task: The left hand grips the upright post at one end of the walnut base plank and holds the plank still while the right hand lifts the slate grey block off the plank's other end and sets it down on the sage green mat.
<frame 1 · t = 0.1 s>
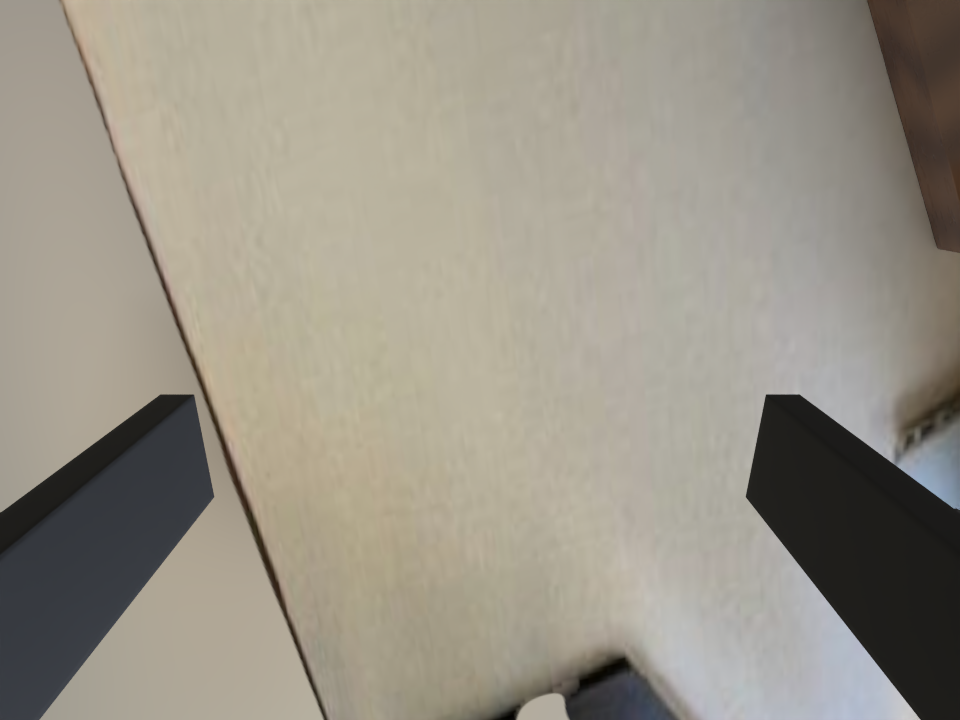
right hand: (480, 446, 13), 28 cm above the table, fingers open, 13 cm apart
base plank: (934, 44, 34), on the table, touching slate block
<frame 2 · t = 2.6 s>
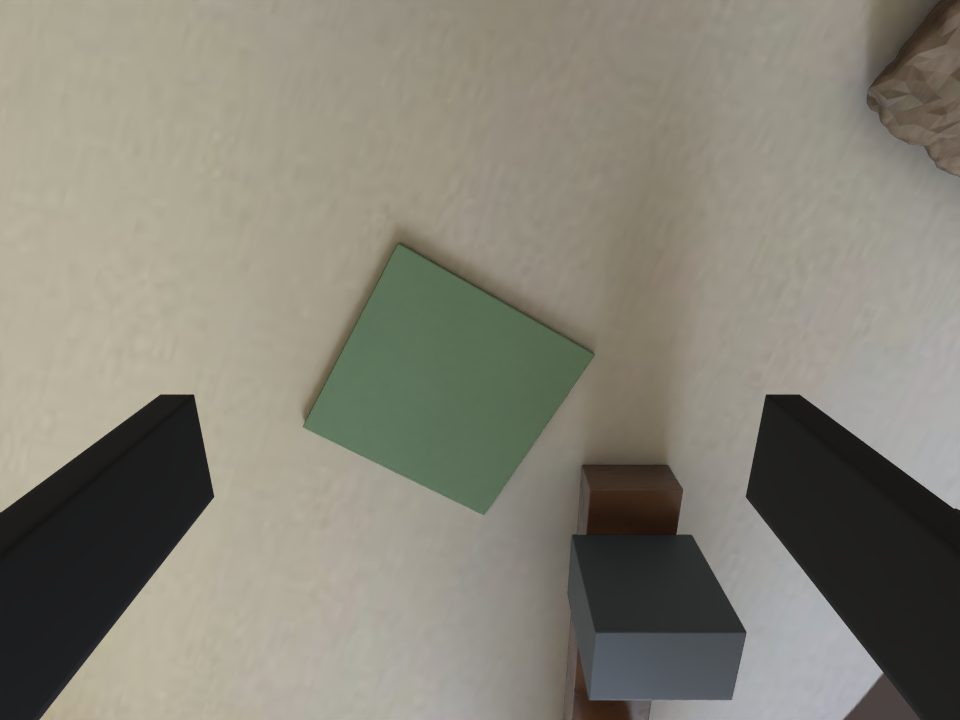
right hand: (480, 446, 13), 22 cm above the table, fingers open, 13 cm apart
green mat: (445, 389, 36), on the table
slate block: (628, 564, 37), point 3 cm above the table, touching base plank
base plank: (609, 611, 42), on the table, touching slate block
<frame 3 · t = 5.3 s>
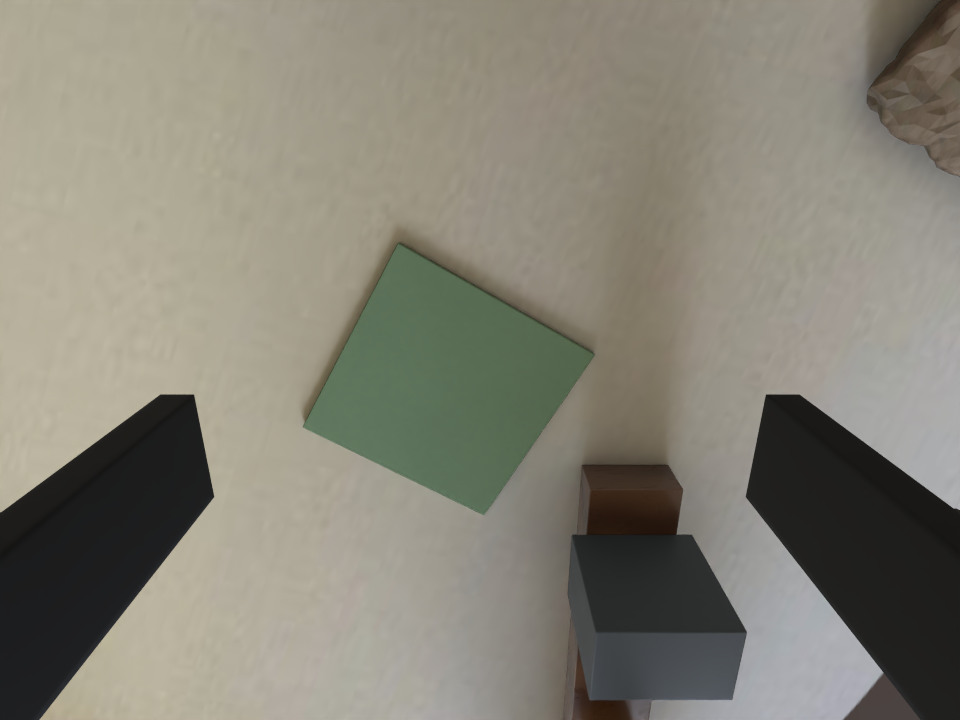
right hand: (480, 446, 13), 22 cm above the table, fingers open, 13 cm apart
green mat: (445, 389, 36), on the table
slate block: (628, 564, 37), point 3 cm above the table, touching base plank
base plank: (609, 611, 42), on the table, touching left hand, slate block
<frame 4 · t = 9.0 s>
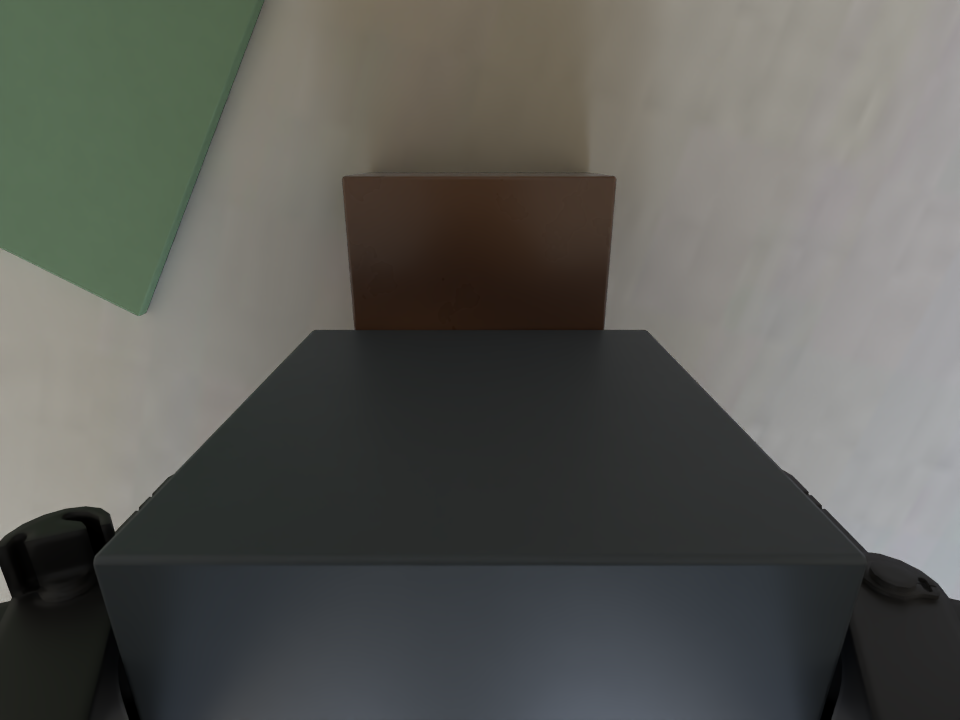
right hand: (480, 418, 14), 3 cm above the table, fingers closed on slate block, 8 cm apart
slate block: (479, 422, 14), point 3 cm above the table, touching base plank, right hand
base plank: (479, 564, 19), on the table, touching left hand, slate block
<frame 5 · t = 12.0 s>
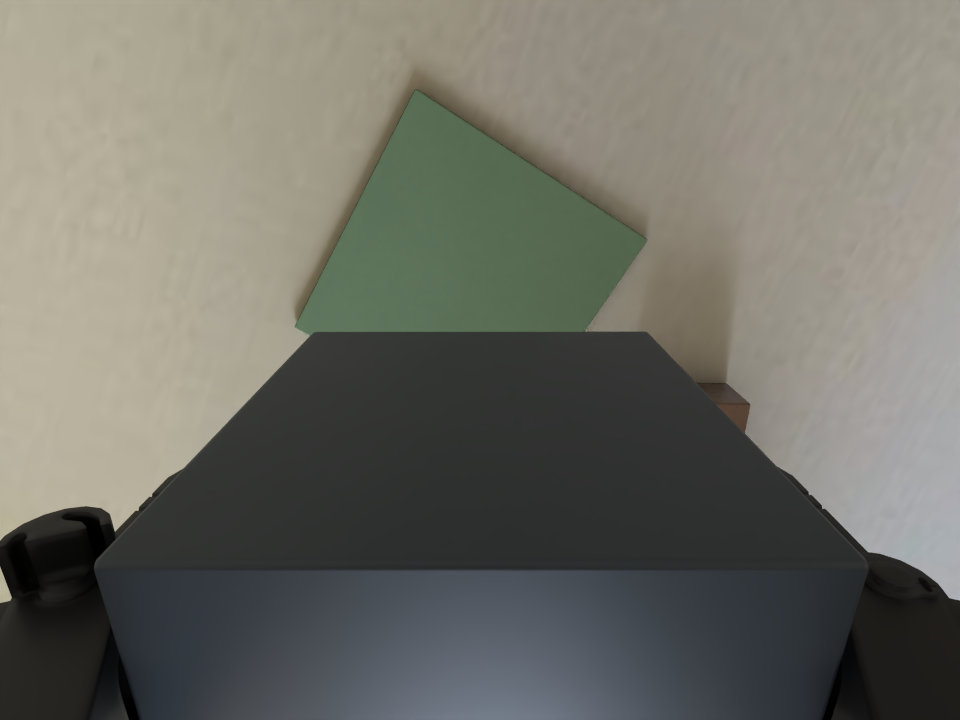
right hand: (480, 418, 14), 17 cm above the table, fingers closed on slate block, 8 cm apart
green mat: (466, 283, 30), on the table
slate block: (480, 424, 14), point 17 cm above the table, touching right hand
base plank: (649, 564, 36), on the table, touching left hand
when the right hand's fingers open (2 cm above the table, at t = 15.5 s): slate block drops 2 cm, resting on green mat.
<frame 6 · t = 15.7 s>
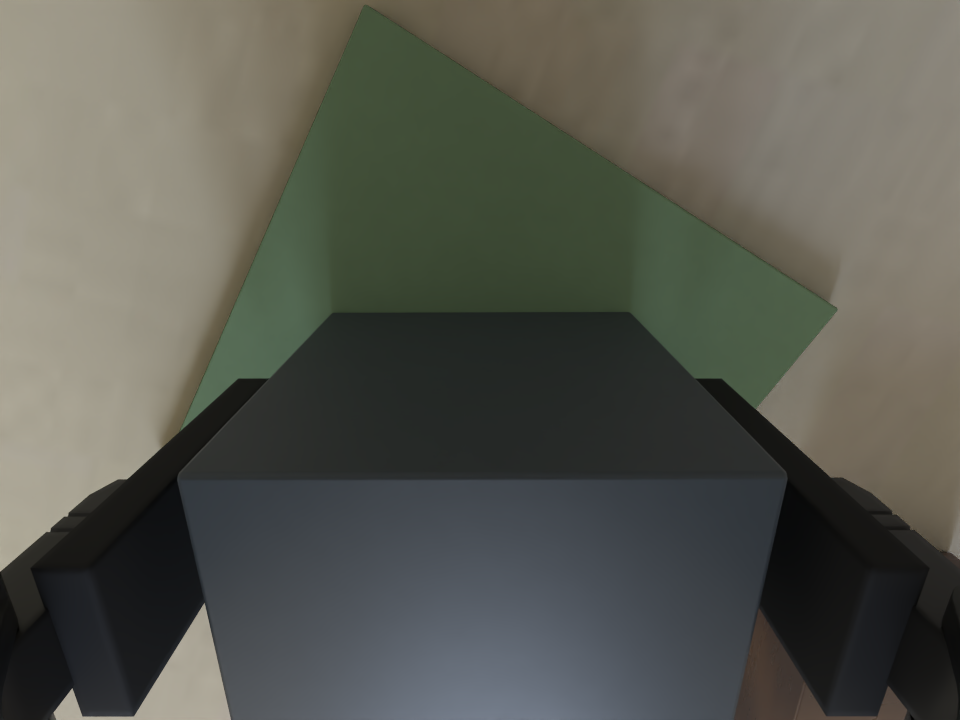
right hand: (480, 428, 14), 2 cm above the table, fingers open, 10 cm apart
green mat: (479, 391, 16), on the table
slate block: (481, 397, 15), resting on green mat
when the left hand's fingers open (4 cm above the table, at t = 18.6 s): base plank stays where it is, on the table.
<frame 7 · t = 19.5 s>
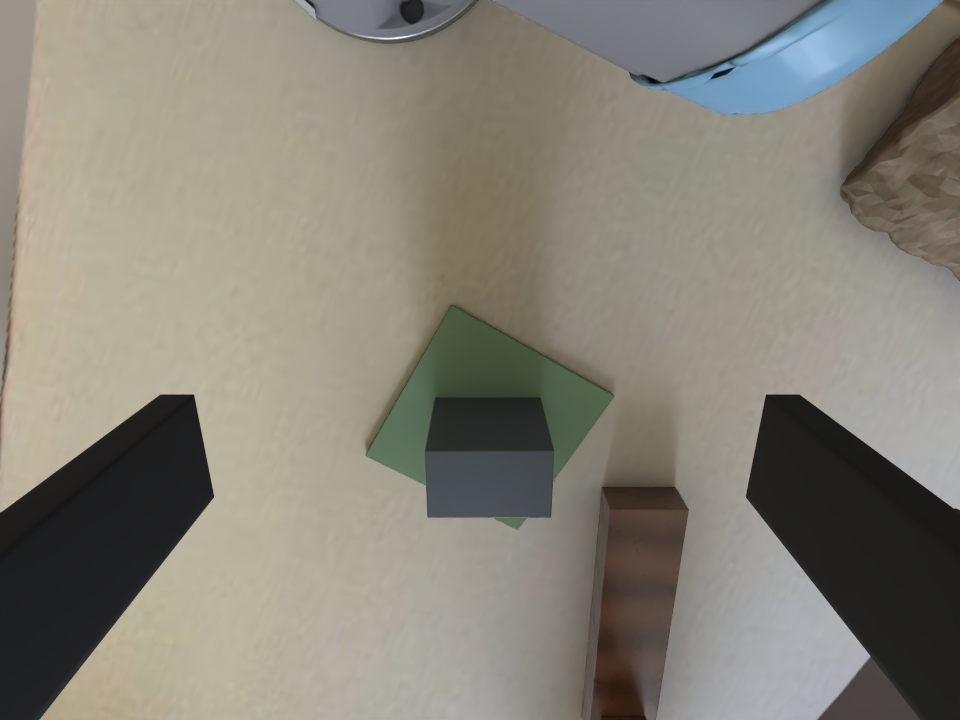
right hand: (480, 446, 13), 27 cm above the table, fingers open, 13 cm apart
green mat: (487, 424, 42), on the table
slate block: (487, 426, 42), resting on green mat
base plank: (624, 611, 49), on the table
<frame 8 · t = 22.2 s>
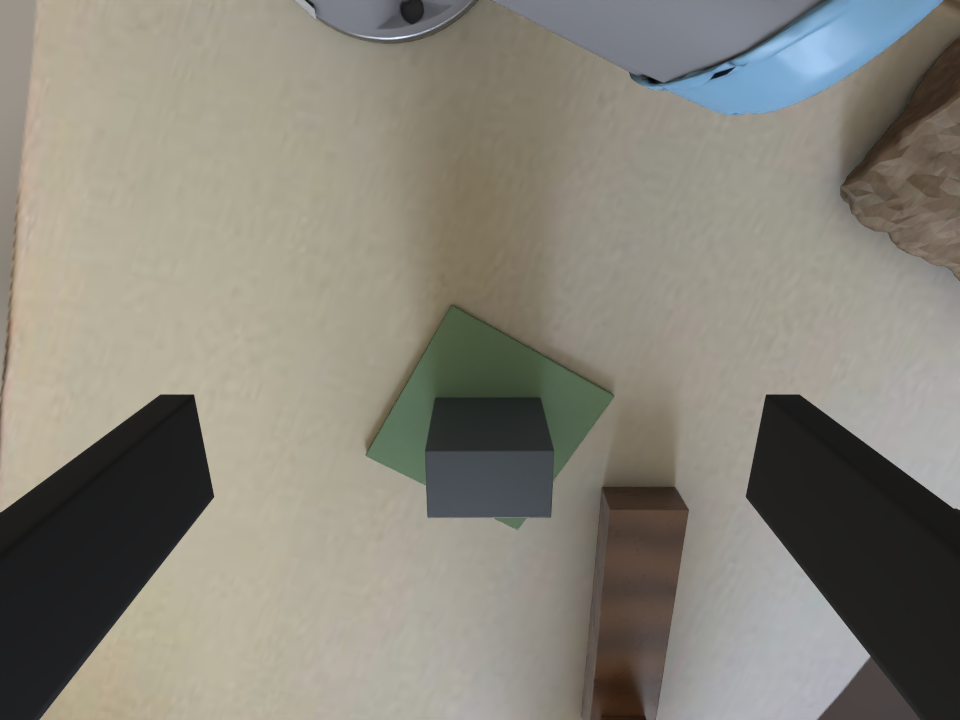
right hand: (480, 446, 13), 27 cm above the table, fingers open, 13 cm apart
green mat: (487, 424, 42), on the table
slate block: (487, 426, 42), resting on green mat
base plank: (624, 611, 49), on the table
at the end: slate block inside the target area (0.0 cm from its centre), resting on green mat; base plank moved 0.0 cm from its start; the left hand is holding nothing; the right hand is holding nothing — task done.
